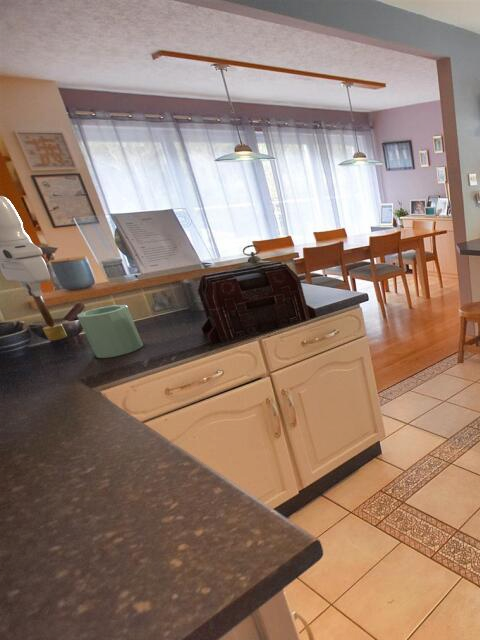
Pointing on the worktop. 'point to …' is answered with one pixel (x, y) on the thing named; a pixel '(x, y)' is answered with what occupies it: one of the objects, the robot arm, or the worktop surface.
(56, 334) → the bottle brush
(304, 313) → the crate
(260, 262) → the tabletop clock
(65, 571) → the worktop surface
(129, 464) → the worktop surface
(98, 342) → the jar
